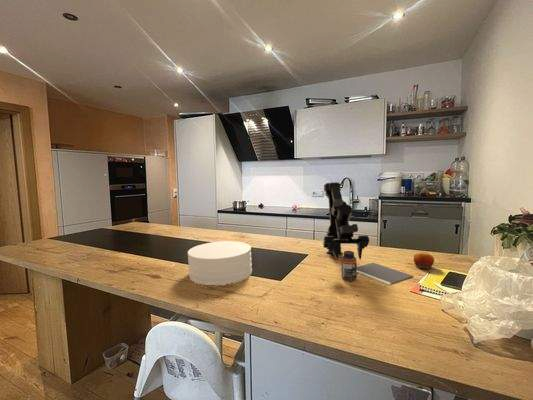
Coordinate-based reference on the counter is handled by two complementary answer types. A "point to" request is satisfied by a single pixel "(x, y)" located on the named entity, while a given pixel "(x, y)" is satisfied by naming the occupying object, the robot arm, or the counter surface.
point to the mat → (382, 273)
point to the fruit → (423, 260)
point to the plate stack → (220, 263)
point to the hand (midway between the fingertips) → (348, 259)
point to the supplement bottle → (349, 266)
